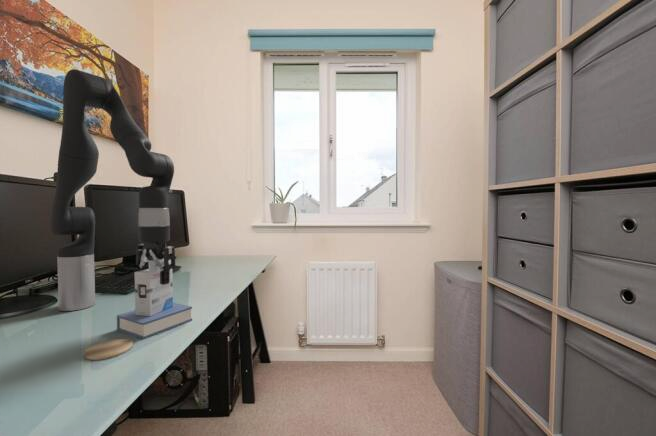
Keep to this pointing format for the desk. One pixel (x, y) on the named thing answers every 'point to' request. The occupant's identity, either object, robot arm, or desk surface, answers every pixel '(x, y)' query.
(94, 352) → the cork coaster
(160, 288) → the ink box
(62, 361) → the desk surface
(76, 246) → the robot arm
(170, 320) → the navy book
